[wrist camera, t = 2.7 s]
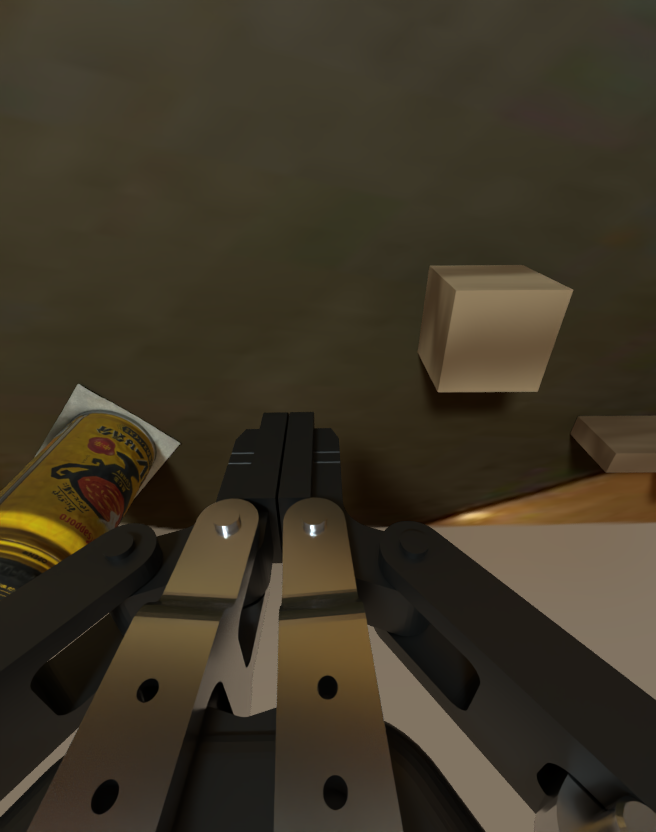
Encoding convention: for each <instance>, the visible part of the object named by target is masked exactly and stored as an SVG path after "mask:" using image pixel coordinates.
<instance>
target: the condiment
mask: <svg viewBox="0 0 656 832" xmlns="http://www.w3.org/2000/svg"><path fill="white" fill-rule="evenodd" d="M180 444H181V443H179V442H178V441H176V440H174V439H173V438H171V437H169V436H167V435H166V434H165V433H163V432H161V431H159V430H158V429H157V428H155V427H153V426H152V425H150V424H148V423H146V422H145V421H143V420H142V419H140V418H138V417H137V416H135V415H133V414H131V413H129V412H127V411H126V410H124V409H122V408H121V407H119V406H117V405H115V404H114V403H112V402H110V401H108V400H106V399H104V398H101V397H100V396H98V395H96V394H95V393H93V392H91V391H89V390H88V389H86V388H84V387H83V386H81V385H80V384H78V385H77V387H76V388H75V390H74V392H73V394H72V395H71V397H70V399H69V401H68V402H67V404H66V406H65V407H64V409H63V411H62V413H61V414H60V416H59V417H58V419H57V421H56V423H55V424H54V425H53V428H52V429H51V430H50V432H49V434H48V436H47V438H46V439H45V441H44V443H43V444H42V446H41V448H40V449H39V451H38V453H37V454H36V456H35V458H34V459H33V460H32V461H31V462H30V463H29V464H28V465H27V466H26V467H25V468H24V469H23V470H22V471H21V472H20V473H19V474H18V475H17V476H16V477H15V478H14V479H13V480H12V481H11V482H10V483H9V484H8V485H7V486H6V487H5V488H4V489H3V490H2V491H0V600H2V599H3V598H5V597H6V596H8V595H9V594H11V593H12V592H14V591H16V590H17V589H19V588H20V587H22V586H23V585H25V584H26V583H28V582H30V581H31V580H33V579H34V578H36V577H37V576H39V575H40V574H42V573H44V572H45V571H47V570H48V569H50V568H51V567H53V566H54V565H56V564H58V563H59V562H61V561H62V560H64V559H65V558H67V557H68V556H70V555H72V554H73V553H75V552H76V551H78V550H79V549H81V548H82V547H84V546H86V545H87V544H89V543H90V542H92V541H93V540H95V539H96V538H98V537H100V536H101V535H103V534H104V533H106V532H108V531H109V530H111V529H114V528H116V527H118V525H119V524H120V522H121V520H122V518H123V517H124V515H125V514H126V512H127V510H128V508H129V507H130V505H131V503H132V502H133V500H134V498H135V497H136V496H137V495H138V494H139V493H140V491H141V490H142V489H143V488H144V486H145V485H146V484H147V483H148V482H149V480H150V479H151V478H152V477H153V476H154V474H155V473H156V472H157V471H158V470H159V468H160V467H161V466H162V465H163V464H164V462H165V461H166V460H167V459H168V458H169V456H170V455H171V454H172V453H173V452H174V450H175V449H176V448H177V447H178V446H179V445H180Z"/></svg>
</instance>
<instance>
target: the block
mask: <svg viewBox="0 0 656 832" xmlns="http://www.w3.org/2000/svg"><path fill="white" fill-rule="evenodd" d="M572 292H573V289H570V288H568V287H566V286H564V285H562V284H560V283H558V282H556V281H554V280H552V279H550V278H548V277H546V276H544V275H542V274H540V273H538V272H536V271H534V270H532V269H530V268H528V267H525V266H523V265H464V266H429V273H428V281H427V288H426V295H425V303H424V310H423V317H422V324H421V332H420V339H419V346H418V354H419V356H420V358H421V360H422V362H423V364H424V366H425V368H426V370H427V372H428V374H429V376H430V378H431V380H432V382H433V384H434V386H435V388H436V390H437V392H538V389H539V386H540V383H541V380H542V377H543V375H544V372H545V369H546V366H547V363H548V360H549V357H550V355H551V352H552V349H553V346H554V343H555V340H556V338H557V335H558V332H559V329H560V326H561V323H562V320H563V318H564V315H565V312H566V309H567V306H568V303H569V300H570V298H571V295H572Z"/></svg>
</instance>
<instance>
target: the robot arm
mask: <svg viewBox="0 0 656 832" xmlns="http://www.w3.org/2000/svg"><path fill="white" fill-rule="evenodd" d="M282 562H283V565H282V566H283V568H282V605H281V606H280V609H279V627H278V668H277V669H278V670H277V708H274V709H271V710H268V711H265V712H262V713H259V714H256V715H253V716H250V709H251V700H252V678H253V671H254V666H255V661H256V656H257V651H258V646H259V642H260V637H261V632H262V627H263V622H264V617H265V612H266V608H267V602H268V598H269V591H270V589H269V588H270V587H269V583H270V577H271V569H272V563H282ZM108 613H109V614H108ZM107 614H108V615H107ZM105 615H107V616H105ZM104 616H105V617H104ZM103 617H104V618H103ZM101 618H103V619H102V620H100V619H101ZM99 620H100V621H99ZM98 621H99V622H98ZM96 622H98V623H97V624H95V623H96ZM94 624H95V625H94ZM93 625H94V626H93ZM367 625H370V626H373V627H374V628H375V631H376V632H377V634H378V635H379V637H380V638H381V639H382V640H383V641H384V642H385V643H386V645H387V646H388V647H389V648H390V649H391V650H392V652H393V653H394V654H395V655H396V656H397V657H398V658H399V659H400V661H402V663H403V664H404V665H405V666H406V667H407V669H408V670H409V671H410V672H411V673H412V674H413V675H414V676H415V678H416V679H417V680H418V681H419V682H420V683H421V684H422V686H423V687H424V688H425V689H426V690H427V691H428V692H429V693H430V695H431V696H432V697H433V698H434V699H435V700H436V701H437V703H438V704H439V705H440V706H441V707H442V708H443V709H444V710H445V712H446V713H447V714H448V715H449V716H450V717H451V718H452V719H453V721H454V722H455V723H456V724H457V725H458V726H459V727H460V729H461V730H462V731H463V732H464V733H465V734H466V735H467V737H469V739H470V740H471V741H472V742H473V743H474V744H475V746H476V747H477V748H478V749H479V750H480V751H481V752H482V754H483V755H484V756H485V757H486V758H487V759H488V760H489V761H490V763H491V764H492V765H493V766H494V767H495V768H496V769H497V770H498V772H499V773H500V774H501V775H502V776H503V777H504V778H505V780H506V781H507V782H508V783H509V784H510V785H511V786H512V788H513V789H514V790H515V791H516V792H517V793H518V794H519V795H520V797H521V798H522V799H523V800H524V801H525V802H526V803H527V804H528V806H529V807H530V808H531V809H532V810H533V811H534V812H535V814H536V817H535V821H534V832H656V700H655V699H653V698H652V697H651V696H650V695H648V694H647V693H646V692H644V691H643V690H642V689H641V688H639V687H638V686H637V685H635V684H634V683H633V682H631V681H630V680H629V679H627V678H626V677H625V676H624V675H622V674H621V673H620V672H618V671H617V670H616V669H614V668H613V667H612V666H610V665H609V664H608V663H607V662H605V661H604V660H603V659H601V658H600V657H599V656H598V655H596V654H595V653H594V652H592V651H591V650H590V649H588V648H587V647H586V646H585V645H583V644H582V643H581V642H579V641H578V640H577V639H575V638H574V637H573V636H572V635H570V634H569V633H567V632H566V631H565V630H564V629H562V628H561V627H560V626H559V625H557V624H556V623H555V622H553V621H552V620H551V619H549V618H548V617H547V616H546V615H544V614H543V613H542V612H540V611H539V610H538V609H536V608H535V607H534V606H532V605H531V604H530V603H529V602H527V601H526V600H525V599H523V598H522V597H521V596H519V595H518V594H517V593H515V592H514V591H513V590H512V589H510V588H509V587H508V586H506V585H505V584H504V583H502V582H501V581H500V580H498V579H497V578H496V577H495V576H493V575H492V574H491V573H489V572H488V571H487V570H486V569H484V568H483V567H482V566H480V565H479V564H478V563H476V562H475V561H474V560H472V559H471V558H470V557H469V556H467V555H466V554H465V553H463V552H462V551H461V550H459V549H458V548H457V547H455V546H454V545H453V544H452V543H450V542H449V541H448V540H447V539H445V538H444V537H443V536H441V535H440V534H439V533H437V532H436V531H435V530H433V529H432V528H430V527H429V526H427V525H425V524H422V523H419V522H414V521H402V522H397V523H395V524H392V525H391V526H389V527H388V528H387V529H386V530H385V531H381V530H378V529H374V528H370V527H367V526H364V525H362V524H360V523H358V522H357V521H355V520H354V519H353V518H351V517H350V516H349V514H348V513H347V512H346V510H345V508H344V506H343V500H342V483H341V467H340V452H339V438H338V437H337V436H336V434H335V433H334V432H333V430H332V429H331V428H316V429H314V412H290V414H289V413H264V414H263V417H262V422H261V426H260V429H246V430H245V431H244V432H243V433H242V434H241V435H240V436H239V437H238V438H237V439H236V441H235V445H234V448H233V451H232V455H231V457H230V460H229V465H228V466H227V469H226V472H225V475H224V478H223V482H222V485H221V488H220V491H219V494H218V497H217V500H216V503H214V504H212V505H210V506H209V507H207V508H206V509H205V510H204V511H203V512H202V513H201V514H200V515H199V517H198V519H197V521H196V523H195V525H193V526H191V527H188V528H186V529H183V530H179V531H176V532H172V533H168V534H165V535H161V536H158V537H156V535H155V532H154V531H153V530H152V529H151V528H150V527H149V526H146V525H144V524H126V525H122V526H119V527H116V528H114V529H111V530H109V531H108V532H106V533H104V534H103V535H101V536H100V537H98V538H96V539H95V540H93V541H92V542H90V543H89V544H87V545H86V546H84V547H82V548H81V549H79V550H78V551H76V552H75V553H73V554H72V555H70V556H68V557H67V558H65V559H64V560H62V561H61V562H59V563H58V564H56V565H54V566H53V567H51V568H50V569H48V570H47V571H45V572H44V573H42V574H40V575H39V576H37V577H36V578H34V579H33V580H31V581H30V582H28V583H26V584H25V585H23V586H22V587H20V588H19V589H17V590H16V591H14V592H12V593H11V594H9V595H8V596H6V597H5V598H3V599H2V600H0V801H1V800H2V799H3V798H4V797H5V796H6V795H7V794H8V793H9V792H10V791H12V790H13V789H14V788H15V787H16V786H17V785H18V784H19V783H20V782H21V781H22V780H23V779H24V778H25V777H26V776H27V775H28V774H30V773H31V772H32V771H33V770H34V769H35V768H36V767H37V766H38V765H39V764H40V763H41V762H42V761H43V760H44V759H45V758H46V757H48V756H49V755H50V754H51V753H52V752H53V751H54V750H55V749H56V748H57V747H58V746H59V745H60V744H61V743H62V742H63V741H65V740H66V738H68V737H69V736H70V735H71V734H72V733H73V732H74V731H75V730H76V729H77V728H78V727H79V728H78V730H77V732H76V734H75V736H74V738H73V740H72V742H71V744H70V746H69V748H68V750H67V752H66V754H65V755H64V756H63V757H62V758H61V759H59V760H58V761H57V762H56V763H55V764H54V765H52V766H51V767H50V768H49V769H48V770H47V771H46V772H45V773H44V774H43V775H42V776H41V777H40V778H39V779H38V780H37V781H36V782H35V783H34V784H33V785H32V786H31V787H30V788H29V789H28V790H27V791H26V792H25V793H24V794H23V795H22V796H21V797H20V798H19V799H18V800H17V801H16V802H15V803H14V804H13V805H12V806H11V807H10V808H9V809H8V810H7V811H6V812H5V813H4V814H3V815H2V816H1V817H0V832H485V830H484V829H483V828H482V827H481V825H480V824H479V822H478V821H477V820H476V818H475V817H474V816H473V814H472V813H471V811H470V810H469V809H468V808H467V806H466V805H465V803H464V802H463V801H462V799H461V798H460V797H459V796H458V794H457V793H456V791H455V790H454V789H453V787H452V786H451V785H450V783H449V782H448V780H447V779H446V778H445V776H444V775H443V774H442V772H441V771H440V770H439V768H438V767H437V766H436V765H435V763H434V762H433V761H432V759H431V758H430V757H429V756H428V755H427V754H426V753H425V752H424V751H423V750H422V749H421V748H420V746H419V745H418V744H416V743H415V742H414V741H413V740H412V739H410V738H409V737H408V736H407V735H406V734H405V733H403V732H402V731H400V730H399V729H397V728H396V727H394V726H393V725H391V724H390V723H387V722H385V721H384V719H383V712H382V706H381V700H380V695H379V689H378V683H377V677H376V672H375V666H374V660H373V654H372V649H371V643H370V638H369V632H368V626H367ZM91 626H93V627H92V628H90V627H91ZM89 628H90V629H89ZM88 629H89V630H88ZM86 630H88V631H86ZM85 631H86V632H85ZM84 632H85V633H84ZM82 633H84V634H83V635H81V634H82ZM80 635H81V636H80ZM79 636H80V637H79ZM77 637H79V638H78V639H76V638H77ZM75 639H76V640H75ZM74 640H75V641H74ZM72 641H74V642H73V643H71V642H72ZM70 643H71V644H70ZM68 644H70V645H69V646H68V647H66V646H67V645H68ZM65 647H66V648H65ZM63 648H65V649H64V650H62V649H63ZM61 650H62V651H61ZM60 651H61V652H60ZM58 652H60V653H59V654H57V653H58ZM56 654H57V655H56ZM55 655H56V656H55ZM53 656H55V657H54V658H52V657H53ZM51 658H52V659H51ZM50 659H51V660H50ZM48 660H49V661H48ZM47 661H48V662H47Z"/></svg>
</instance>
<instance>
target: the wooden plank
mask: <svg viewBox="0 0 656 832" xmlns="http://www.w3.org/2000/svg"><path fill="white" fill-rule="evenodd" d="M570 434H571V435H572V436H573V437H574V439H575V440H576V441H577V442H578V443H579V444H580V445H581V446H582V447H583V448H584V449H585V450H586V452H587V453H588V454H589V455H590V456H591V457H592V458H593V459H594V460H595V461H596V462H597V464H598V465H599V466H600V467H601V468H602V469H603V470H604V471H605V472H606V473H617V472H656V416H578V417H577V420H576V422H575V424H574V427H573V429H572V431H571V433H570Z"/></svg>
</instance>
